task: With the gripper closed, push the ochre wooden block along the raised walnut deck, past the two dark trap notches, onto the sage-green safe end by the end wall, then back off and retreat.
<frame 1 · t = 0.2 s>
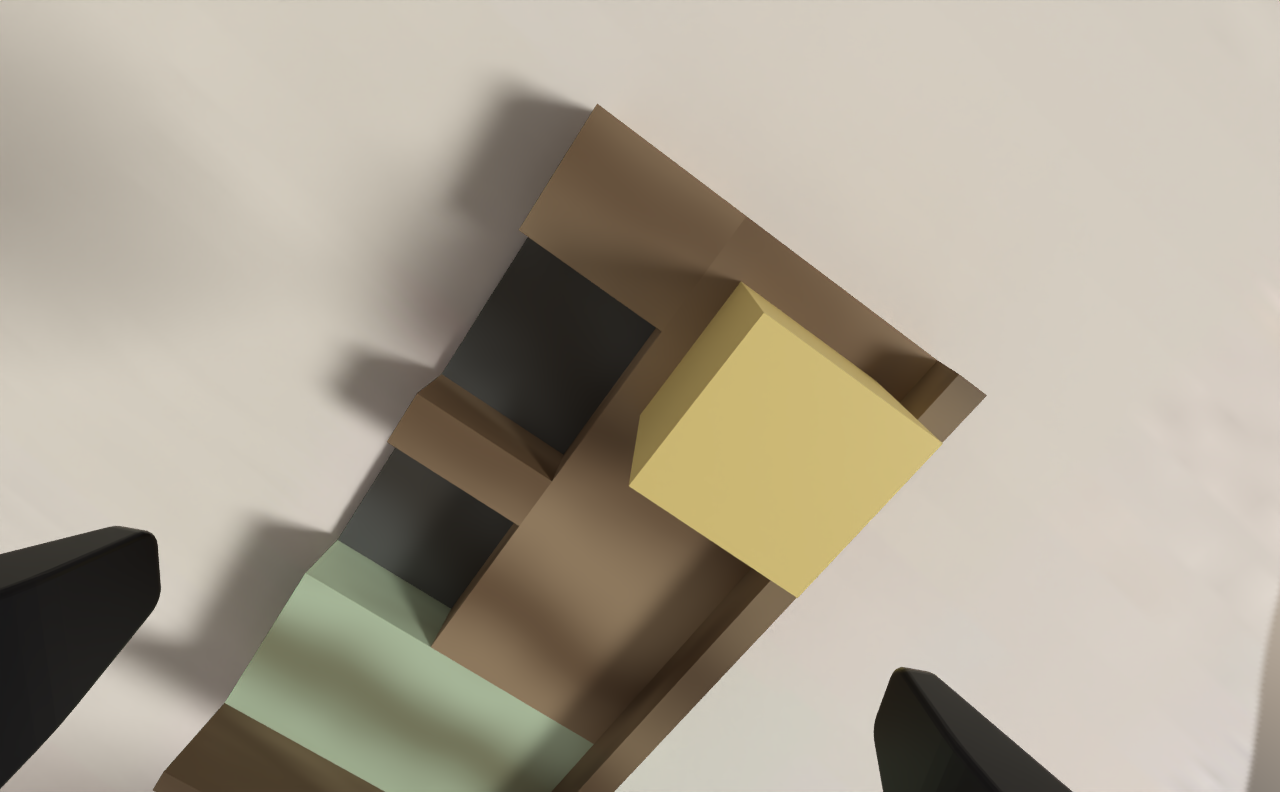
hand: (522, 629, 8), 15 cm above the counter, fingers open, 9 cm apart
deck: (551, 559, 24), on the counter
block: (755, 398, 19), point 2 cm above the counter, touching deck
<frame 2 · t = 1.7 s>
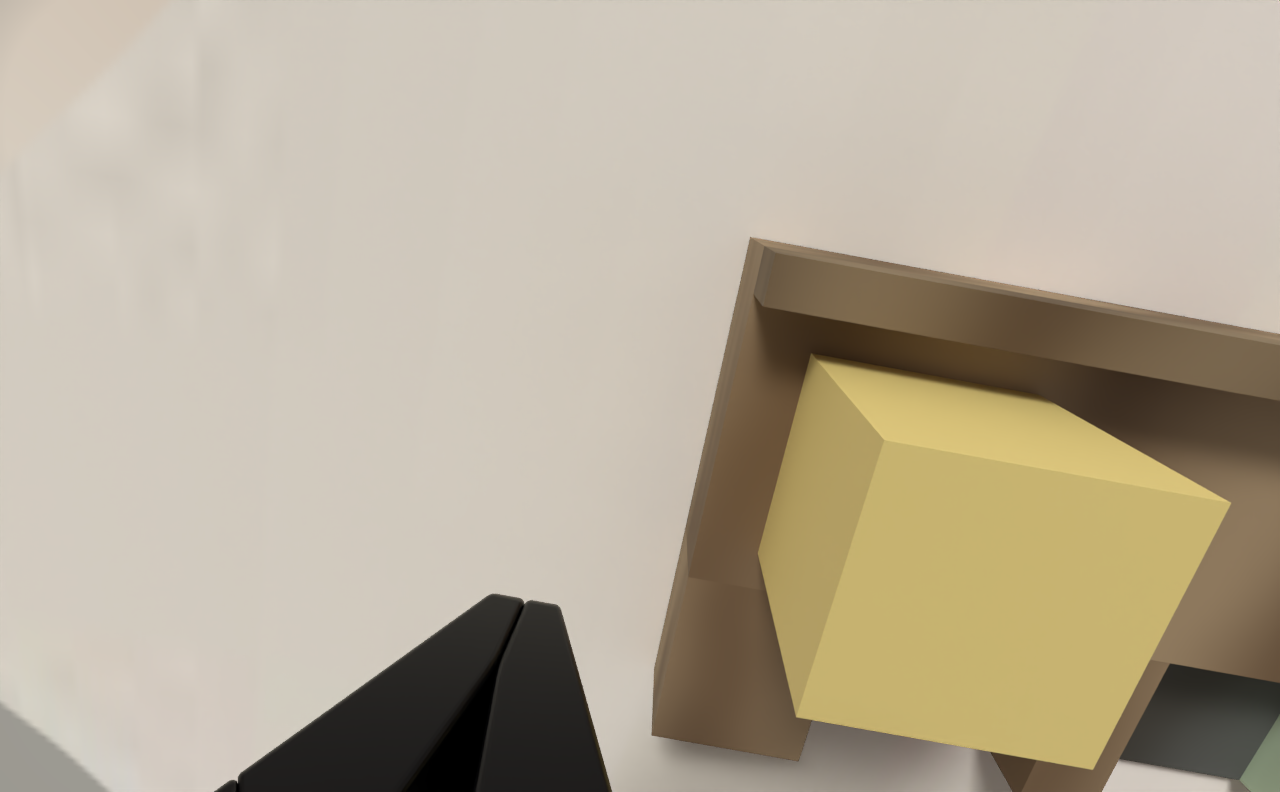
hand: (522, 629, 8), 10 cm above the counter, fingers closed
deck: (1205, 552, 17), on the counter
block: (891, 478, 15), point 2 cm above the counter, touching deck
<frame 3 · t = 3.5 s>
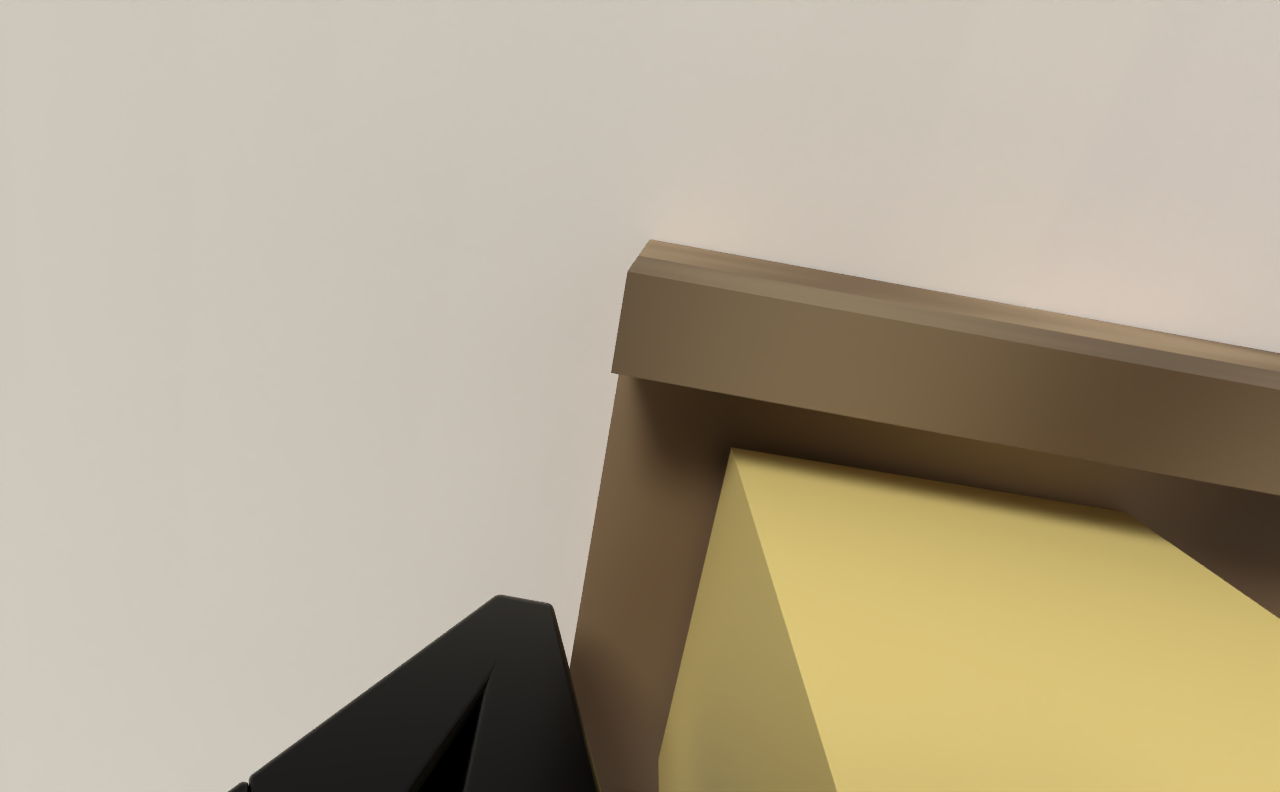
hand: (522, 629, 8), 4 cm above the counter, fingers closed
block: (873, 645, 9), point 3 cm above the counter, touching deck, gripper
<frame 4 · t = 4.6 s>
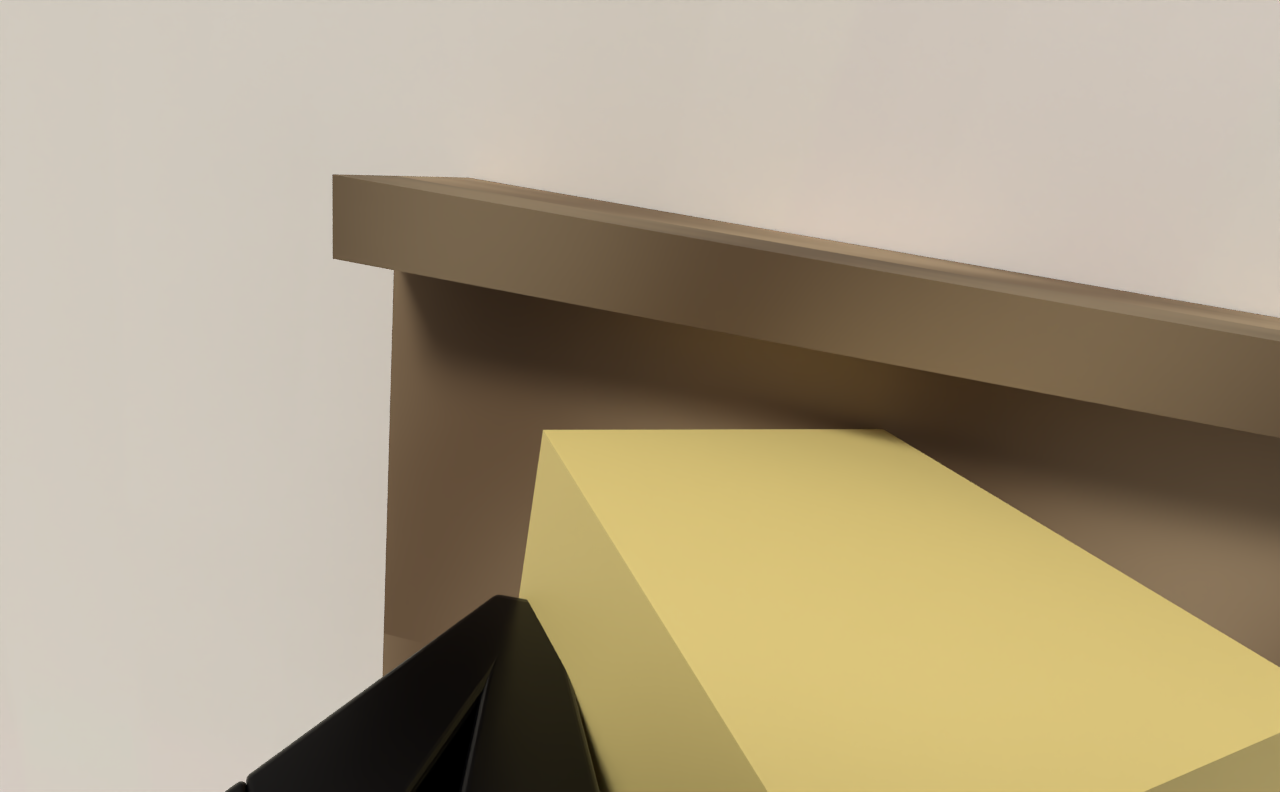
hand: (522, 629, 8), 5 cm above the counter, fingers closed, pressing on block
deck: (1154, 632, 12), on the counter
block: (693, 592, 9), point 4 cm above the counter, tilted 32°, touching deck, gripper
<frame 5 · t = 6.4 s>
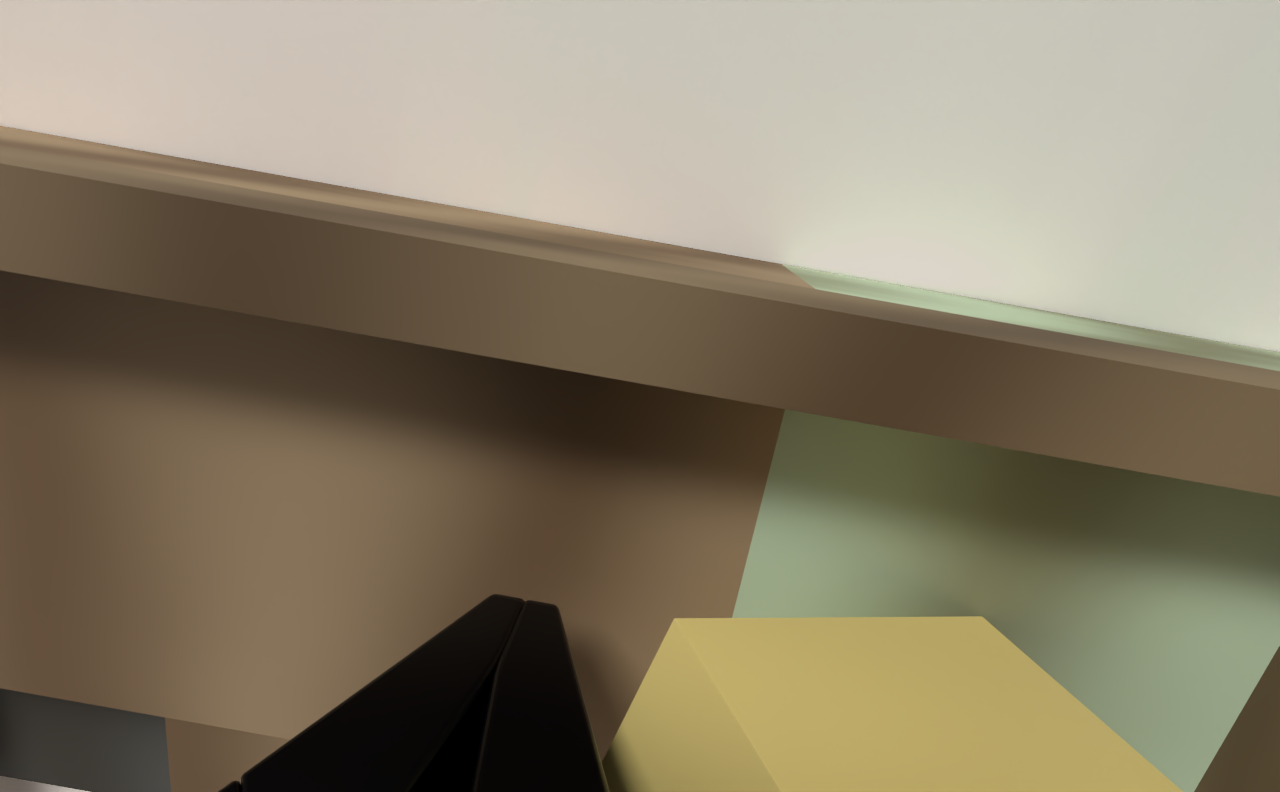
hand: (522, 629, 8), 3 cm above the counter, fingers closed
deck: (483, 560, 12), on the counter
block: (759, 774, 8), point 4 cm above the counter, tilted 29°, touching gripper
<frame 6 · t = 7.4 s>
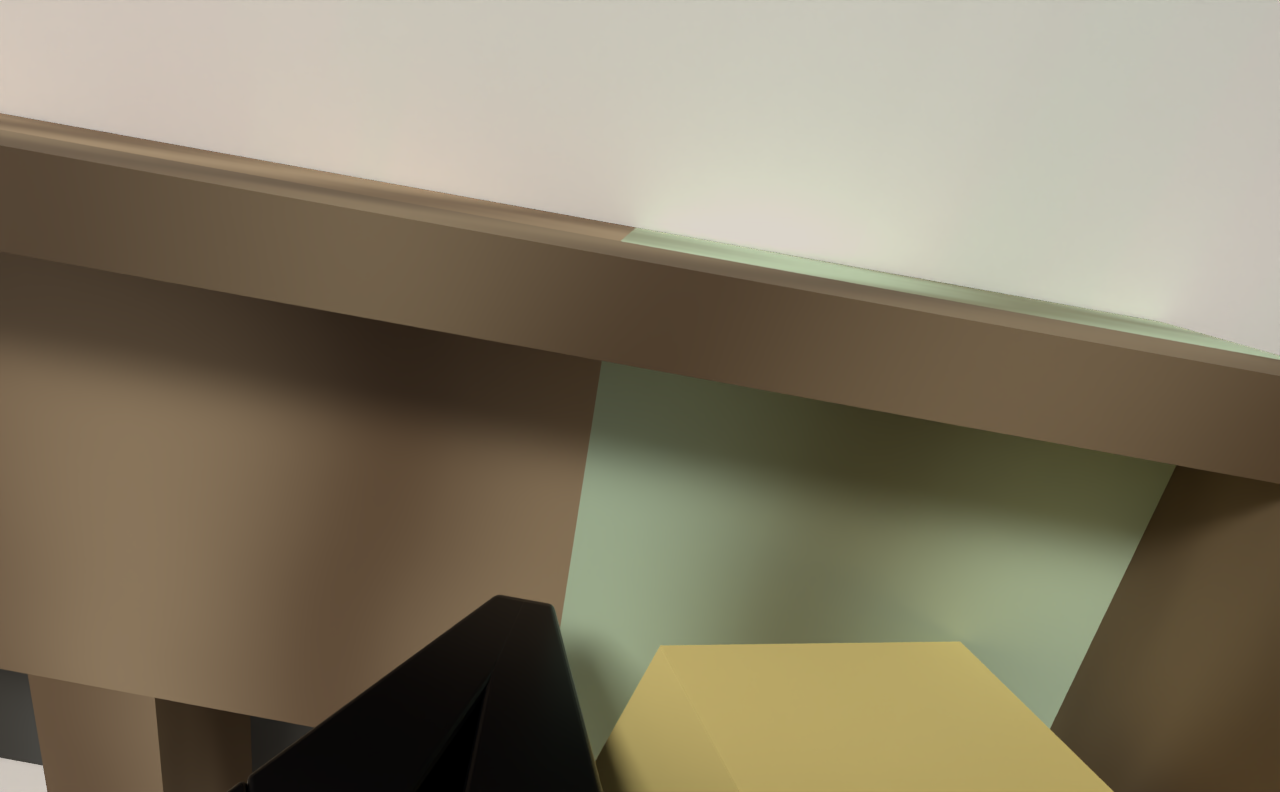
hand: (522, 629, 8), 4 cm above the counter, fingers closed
deck: (363, 526, 12), on the counter
block: (738, 790, 8), point 4 cm above the counter, tilted 30°, touching deck, gripper
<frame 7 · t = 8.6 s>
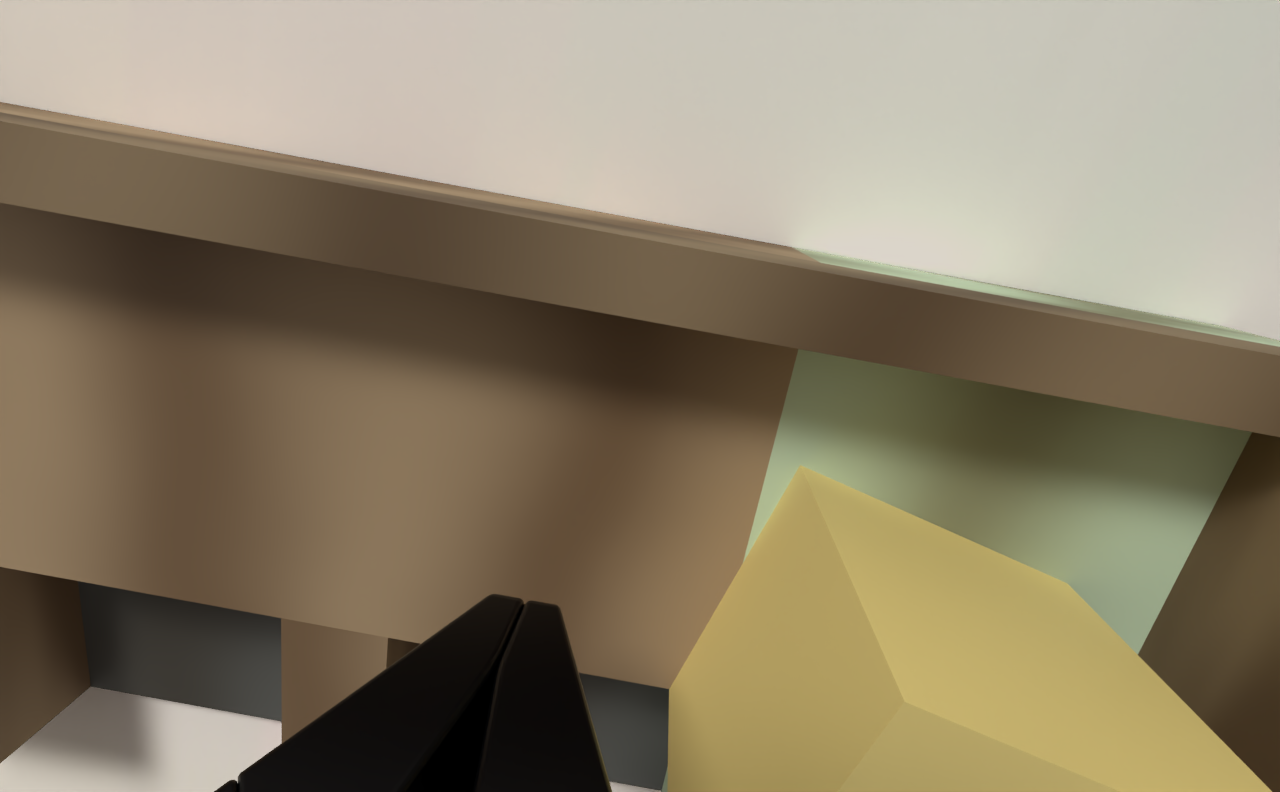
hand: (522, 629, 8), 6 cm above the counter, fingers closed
deck: (536, 498, 14), on the counter
block: (858, 639, 11), point 2 cm above the counter, touching deck
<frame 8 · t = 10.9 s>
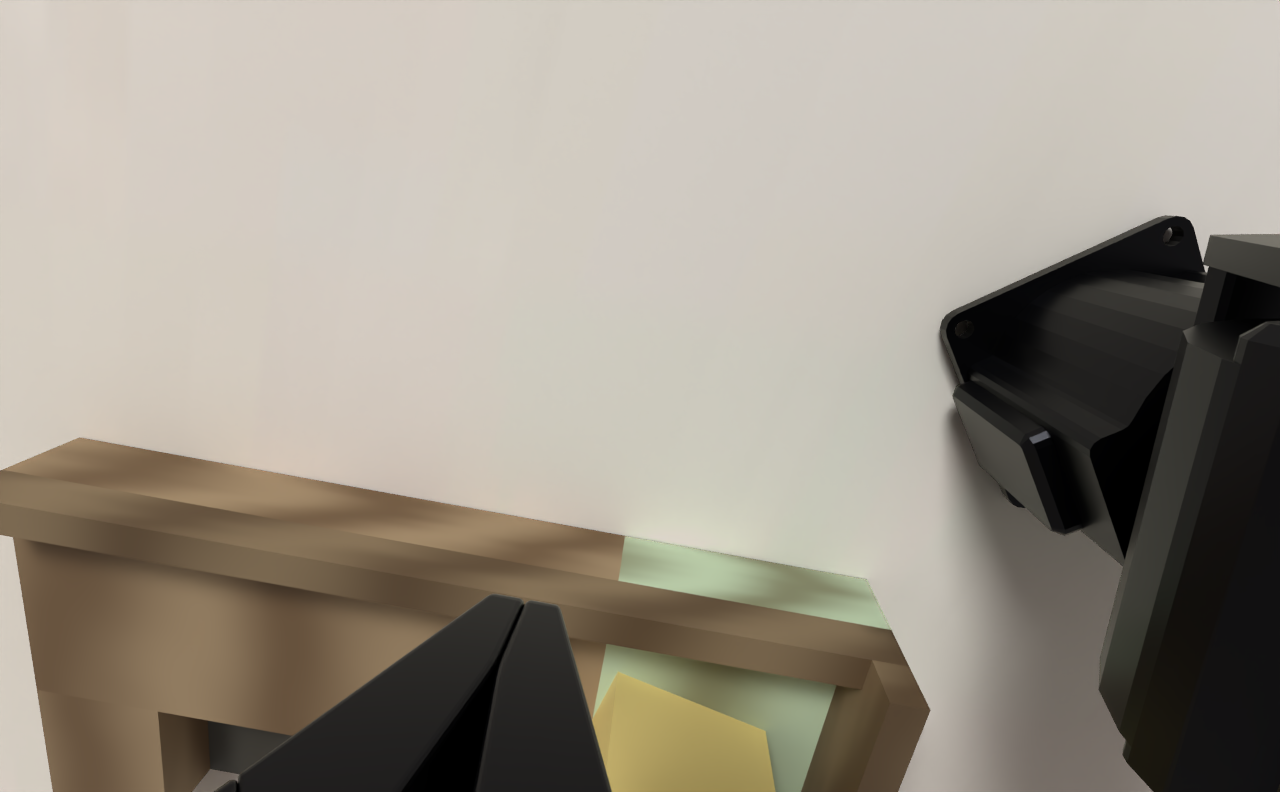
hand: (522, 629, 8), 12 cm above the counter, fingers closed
deck: (486, 662, 23), on the counter
block: (658, 757, 20), point 2 cm above the counter, touching deck
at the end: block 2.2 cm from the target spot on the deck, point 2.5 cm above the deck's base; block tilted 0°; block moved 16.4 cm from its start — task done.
